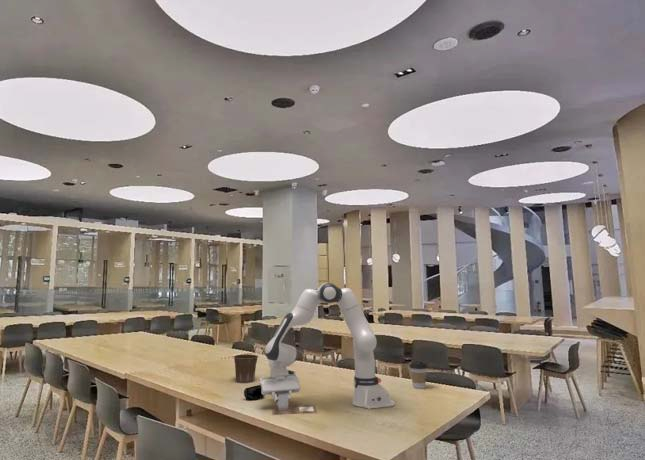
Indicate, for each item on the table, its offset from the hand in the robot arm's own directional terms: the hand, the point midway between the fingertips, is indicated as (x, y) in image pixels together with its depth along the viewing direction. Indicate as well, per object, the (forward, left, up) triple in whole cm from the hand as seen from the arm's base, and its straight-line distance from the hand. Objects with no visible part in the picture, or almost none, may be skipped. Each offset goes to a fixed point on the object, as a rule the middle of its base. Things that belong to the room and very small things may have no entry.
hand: (282, 400), depth 202 cm
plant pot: (+23, -72, -6) cm, 75 cm away
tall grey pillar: (0, -1, -4) cm, 4 cm away
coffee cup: (-86, -39, -6) cm, 94 cm away
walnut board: (-6, 0, -6) cm, 8 cm away
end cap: (+15, -28, -6) cm, 32 cm away
